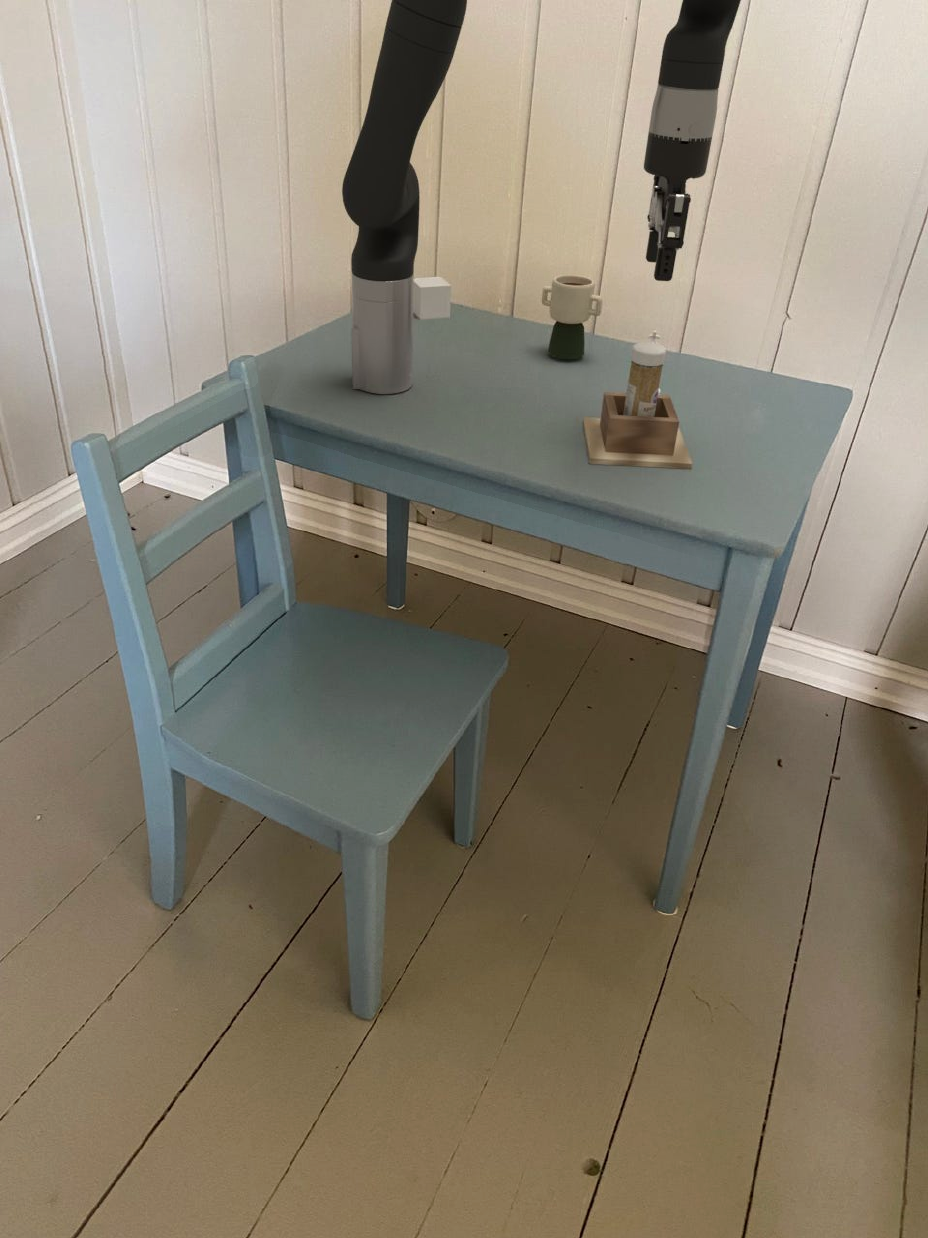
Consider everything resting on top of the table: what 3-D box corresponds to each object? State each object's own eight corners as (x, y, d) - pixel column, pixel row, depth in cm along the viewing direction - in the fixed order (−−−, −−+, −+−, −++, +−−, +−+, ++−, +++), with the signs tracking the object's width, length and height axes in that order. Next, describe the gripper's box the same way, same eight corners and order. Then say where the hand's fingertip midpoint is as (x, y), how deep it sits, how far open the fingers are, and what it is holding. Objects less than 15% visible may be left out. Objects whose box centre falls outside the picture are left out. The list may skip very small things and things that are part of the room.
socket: (589, 463, 127) (594, 424, 124) (582, 422, 139) (587, 384, 136) (691, 468, 127) (699, 429, 124) (675, 426, 139) (682, 389, 135)
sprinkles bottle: (648, 447, 130) (664, 354, 123) (616, 442, 131) (630, 349, 124) (652, 435, 134) (668, 343, 126) (621, 430, 135) (635, 339, 127)
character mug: (602, 356, 162) (612, 280, 155) (586, 368, 157) (596, 290, 150) (545, 344, 166) (552, 269, 159) (528, 355, 161) (535, 279, 154)
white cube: (439, 308, 181) (440, 276, 178) (450, 317, 177) (451, 285, 173) (410, 310, 179) (410, 278, 176) (420, 319, 175) (420, 287, 171)
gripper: (642, 119, 116) (623, 254, 125) (657, 137, 104) (634, 284, 114) (702, 123, 116) (678, 257, 125) (723, 141, 104) (695, 288, 114)
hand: (657, 270), depth 120 cm, fingers open, 8 cm apart
